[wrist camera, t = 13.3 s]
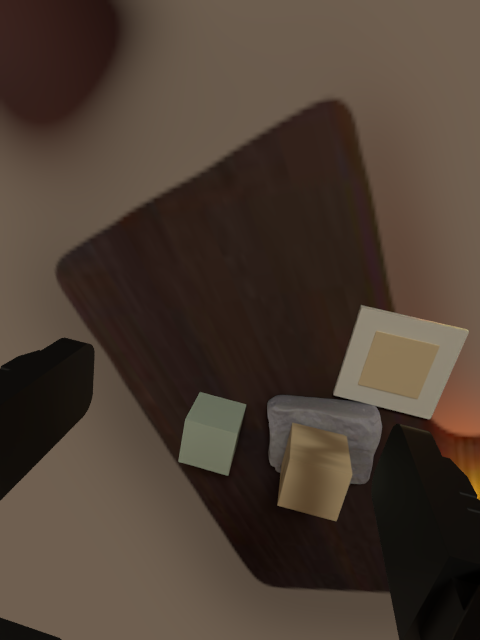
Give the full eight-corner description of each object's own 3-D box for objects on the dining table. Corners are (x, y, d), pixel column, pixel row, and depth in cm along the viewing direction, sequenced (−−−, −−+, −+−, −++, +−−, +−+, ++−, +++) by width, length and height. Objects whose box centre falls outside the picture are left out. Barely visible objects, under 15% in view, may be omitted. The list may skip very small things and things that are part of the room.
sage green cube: (246, 404, 43) (237, 433, 38) (237, 442, 45) (228, 475, 40) (200, 391, 43) (185, 419, 38) (193, 430, 45) (178, 461, 40)
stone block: (370, 458, 44) (381, 395, 39) (374, 495, 40) (387, 429, 35) (270, 446, 47) (268, 384, 42) (264, 479, 43) (261, 416, 38)
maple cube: (346, 435, 38) (352, 474, 33) (332, 477, 40) (336, 521, 34) (292, 422, 38) (289, 458, 33) (281, 464, 40) (277, 505, 35)
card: (466, 329, 36) (469, 332, 35) (428, 416, 39) (430, 420, 38) (360, 305, 37) (361, 307, 36) (333, 392, 40) (333, 395, 39)
